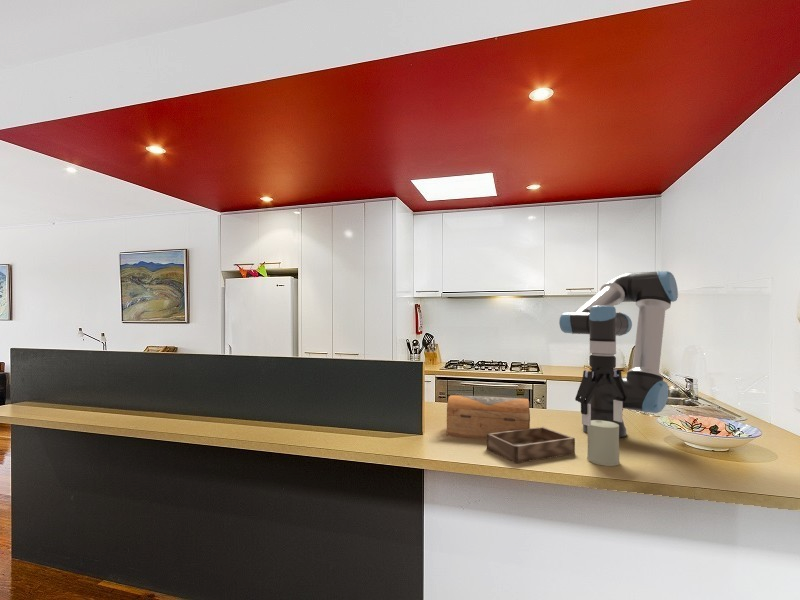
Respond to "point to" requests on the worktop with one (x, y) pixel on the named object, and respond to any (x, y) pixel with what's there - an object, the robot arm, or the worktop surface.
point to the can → (603, 443)
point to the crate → (530, 444)
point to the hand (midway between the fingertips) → (602, 423)
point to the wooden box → (485, 415)
